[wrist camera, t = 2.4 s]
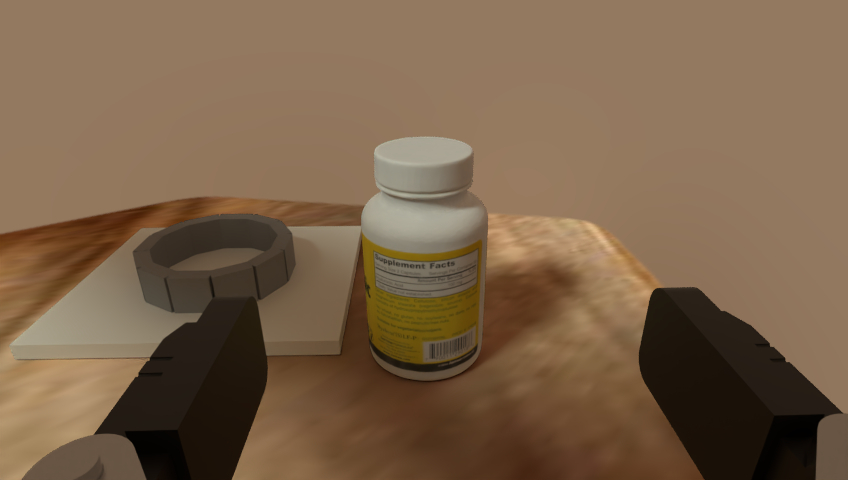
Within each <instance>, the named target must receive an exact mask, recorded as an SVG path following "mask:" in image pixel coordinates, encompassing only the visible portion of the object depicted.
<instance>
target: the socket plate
mask: <svg viewBox="0 0 848 480" xmlns="http://www.w3.org/2000/svg"><path fill="white" fill-rule="evenodd" d="M361 241H362V232H361V226H310V227H286V226H285V224H284V223H283V222H282V221H280V220H277V219H273V218H269V217H265V216H261V215H257V214H255V215H253V214H221V215H220V216H219V215H212V216H207V217H202V218H197V219H192V220H187V221H184V222H180V223H177V224H175V225H172V226H170V227H168V228H141V229H140V230H139V231H138V232H137V233H135V234H134V235H133V236H132V237H131V238H130V239H129V240H128V241H126V242H125V243H124V244H123V245H122V246H121V247H120V248H118V249H117V250H116V251H115V252H114V253H113V254H112V255H111V256H109V257H108V258H107V259H106V260H105V261H104V262H103V263H102V264H100V265H99V266H98V267H97V268H96V269H95V270H94V271H92V272H91V273H90V274H89V275H88V276H87V277H86V278H85V279H83V280H82V281H81V282H80V283H79V284H78V285H77V286H76V287H74V288H73V289H72V290H71V291H70V292H69V293H68V294H66V295H65V296H64V297H63V298H62V299H61V300H60V301H59V302H57V303H56V304H55V305H54V306H53V307H52V308H51V309H50V310H48V311H47V312H46V313H45V314H44V315H43V316H42V317H40V318H39V319H38V320H37V321H36V322H35V323H34V324H33V325H31V326H30V327H29V328H28V329H27V330H26V331H25V332H24V333H22V334H21V335H20V336H19V337H18V338H17V339H16V340H14V341H13V342H12V343H11V344H10V345H9V347H10V349H11V352H12V354H13V356H14V359H79V358H144V357H150V356H151V355H152V354H153V352H154V351H155V350H156V348H157V347H158V345H159V344H160V343H161V341H162V340H163V339H164V338H165V337H166V336H168V335H169V334H171V333H172V332H173V331H175V330H176V329H177V328H179V327H180V326H182V325H183V324H184V323H186V322H197V321H198V319H199V318H200V316H201V315H202V313H203V312H204V310H205V308H206V307H207V305H208V304H209V302H210V301H211V300H212V299H213V298H214V297H233V296H253V297H254V298H255V299H256V301H257V304H258V309H259V315H260V321H261V327H262V332H263V338H264V344H265V350H266V356H274V355H339V354H340V352H341V347H342V342H343V336H344V331H345V326H346V320H347V315H348V310H349V304H350V299H351V294H352V288H353V283H354V278H355V272H356V267H357V262H358V256H359V251H360V246H361Z"/></svg>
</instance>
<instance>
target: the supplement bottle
mask: <svg viewBox="0 0 848 480" xmlns="http://www.w3.org/2000/svg"><path fill="white" fill-rule="evenodd" d="M374 164H375V179H376V185H377V187H378V188H379V189H380V190H381V192H379V193H378V194H376V195H375V196H374V197H372V198H371V199H370V200H369V201H368V202H367V204H366V205H365V207H364V209H363V212H362V216H361V232H362V245H363V260H364V274H365V289H366V303H367V319H368V334H369V344H370V349H371V352H372V355H373V357H374V359H375V360H376V361H377V362H378V364H379V365H380V366H382V367H383V368H384V369H385V370H387V371H389V372H391V373H393V374H395V375H397V376H400V377H403V378H407V379H412V380H421V381H433V380H440V379H445V378H449V377H452V376H455V375H457V374H459V373H461V372H463V371H464V370H466V369H467V368H468V367H470V366H471V365H472V364H473V363H474V361H475V360H476V359H477V357H478V355H479V353H480V350H481V346H482V336H483V318H484V298H485V279H486V257H487V235H488V215H487V210H486V208H485V206H484V204H483V203H482V201H481V200H480V199H479V198H478V197H476V196H475V195H474V194H472V193H471V192H469V191H467V189H469V188H470V187H471V185H472V182H473V180H472V177H473V149H472V148H471V147H470V146H469V145H468V144H466V143H464V142H461V141H458V140H454V139H449V138H442V137H410V138H401V139H396V140H391V141H388V142H385V143H383V144H381V145H379V146H378V147H377V148H376V149H375V152H374Z"/></svg>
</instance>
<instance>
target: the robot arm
mask: <svg viewBox="0 0 848 480" xmlns="http://www.w3.org/2000/svg"><path fill="white" fill-rule="evenodd" d="M639 366H640V371H641V375H642V378H643V380H644V382H645V384H646V385H647V387H648V389H649V390H650V392H651V393H652V395H653V397H654V398H655V400H656V402H657V403H658V405H659V406H660V408H661V410H662V411H663V413H664V415H665V416H666V418H667V419H668V421H669V423H670V424H671V426H672V428H673V429H674V431H675V432H676V434H677V436H678V437H679V439H680V440H681V442H682V444H683V445H684V447H685V449H686V450H687V452H688V453H689V455H690V457H691V458H692V460H693V462H694V463H695V465H696V466H697V468H698V470H699V471H700V473H701V474H702V476H703V478H704V479H705V480H848V414H843V413H842V412H841V411H840V410H839V409H838V408H837V407H836V406H835V405H834V404H833V403H832V402H831V401H830V400H829V399H828V398H827V397H826V396H825V395H823V394H822V393H821V392H820V391H819V390H818V389H817V388H816V387H815V386H814V385H813V384H812V383H811V382H810V381H809V380H807V378H805V376H803V375H802V374H801V373H800V372H799V371H798V370H797V369H796V368H795V367H794V366H793V365H792V364H791V363H790V362H786V361H785V357H783V356H782V355H781V354H780V353H779V352H778V351H777V350H776V349H775V348H774V347H770V343H769V342H768V341H767V340H765V338H763V337H762V336H761V335H760V334H759V333H758V332H757V331H756V330H755V329H754V328H753V327H752V326H751V325H749V324H747V323H745V322H743V321H742V320H740V319H738V318H736V317H735V316H733V315H731V314H729V313H727V312H725V311H720V309H719V308H718V307H717V306H716V305H715V304H714V303H713V302H712V301H711V300H710V299H709V298H708V297H707V296H706V295H705V294H704V293H703V292H702V291H700V290H699V289H698V288H695V287H687V288H685V287H682V288H657V289H655V290H654V291H653V292H652V294H651V297H650V301H649V306H648V310H647V315H646V320H645V325H644V330H643V335H642V340H641V345H640V350H639ZM267 371H268V365H267V356H266V350H265V344H264V338H263V332H262V327H261V321H260V315H259V309H258V304H257V301H256V299H255V298H254V297H253V296H233V297H214V298H213V299H212V300H211V301H210V302H209V304H208V305H207V307H206V308H205V310H204V312H203V313H202V315H201V316H200V318H199V319H198V321H197V322H186V323H184V324H183V325H182V326H180V327H179V328H177V329H176V330H175V331H173V332H172V333H171V334H169V335H168V336H166V337H165V338H164V339H163V340H162V341H161V343H160V344H159V345H158V347H157V348H156V350H155V351H154V352H153V354H152V355H151V356H150V361H147V362H146V363H145V365H144V366H143V368H142V369H141V370H140V372H139V376H138V377H135V379H134V380H133V381H132V383H131V384H130V385H129V387H128V388H127V390H126V391H125V392H124V394H123V395H122V396H121V398H120V399H119V401H118V402H117V403H116V405H115V406H114V407H113V409H112V410H111V412H110V413H109V414H108V416H107V417H106V418H105V420H104V421H103V423H102V424H101V425H100V427H99V428H98V430H97V431H96V432H95V434H94V435H91V436H87V437H83V438H80V439H77V440H74V441H72V442H69V443H67V444H65V445H63V446H61V447H59V448H57V449H56V450H54V451H52V452H51V453H49V454H48V455H46V456H45V457H43V458H42V459H41V460H40V461H38V462H37V463H36V464H35V465H34V466H33V467H32V468H31V469H30V470H29V471H28V472H27V473H26V474H25V476H24V477H23V478H22V480H232V477H233V475H234V472H235V469H236V467H237V464H238V461H239V459H240V456H241V453H242V450H243V448H244V445H245V442H246V440H247V437H248V434H249V431H250V429H251V426H252V423H253V421H254V418H255V415H256V413H257V410H258V407H259V404H260V402H261V399H262V396H263V394H264V391H265V387H266V382H267Z"/></svg>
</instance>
